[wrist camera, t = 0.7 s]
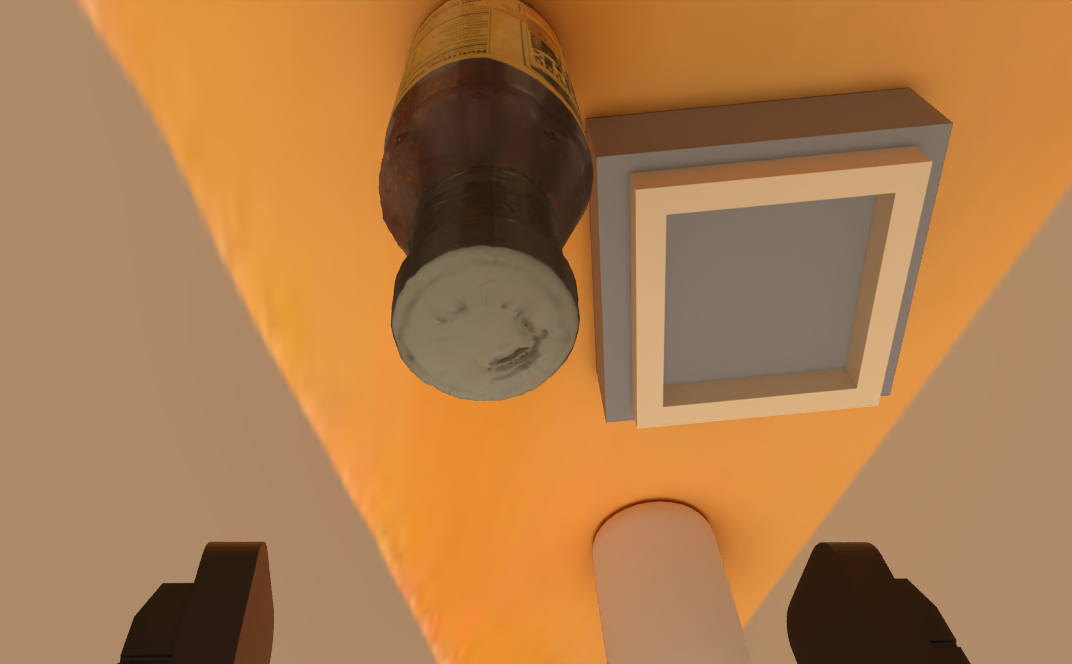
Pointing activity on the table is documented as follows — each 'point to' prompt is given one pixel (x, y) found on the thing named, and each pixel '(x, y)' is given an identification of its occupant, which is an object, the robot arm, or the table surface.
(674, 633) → the milk bottle
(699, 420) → the tray
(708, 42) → the table surface
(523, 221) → the sauce bottle
